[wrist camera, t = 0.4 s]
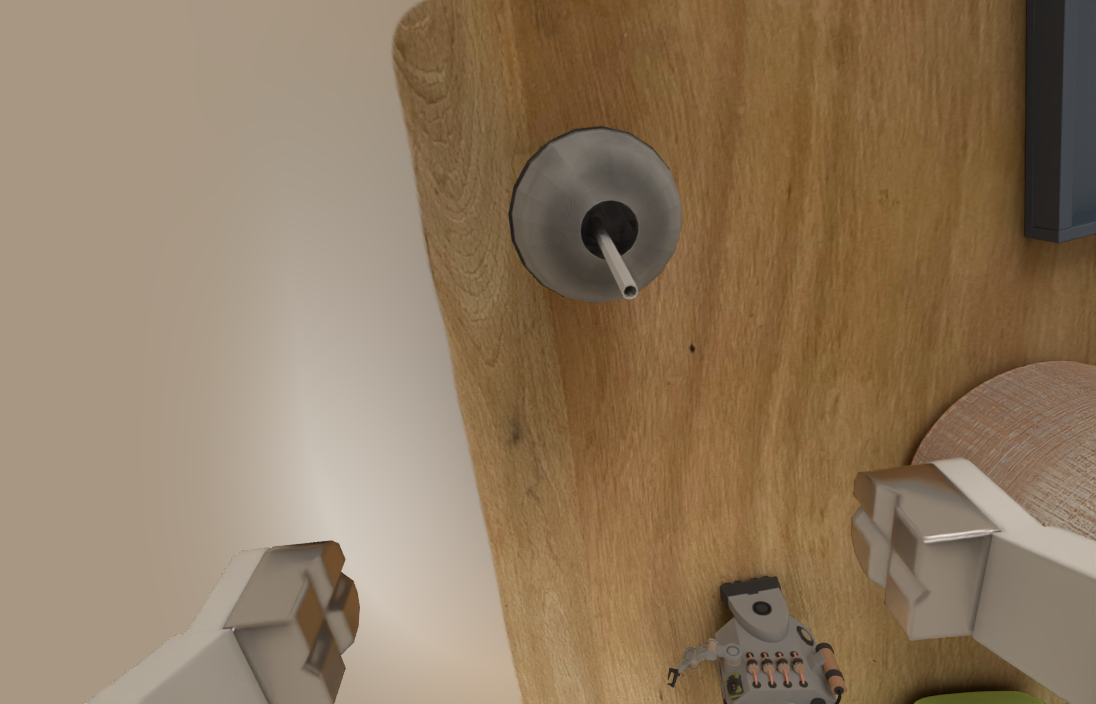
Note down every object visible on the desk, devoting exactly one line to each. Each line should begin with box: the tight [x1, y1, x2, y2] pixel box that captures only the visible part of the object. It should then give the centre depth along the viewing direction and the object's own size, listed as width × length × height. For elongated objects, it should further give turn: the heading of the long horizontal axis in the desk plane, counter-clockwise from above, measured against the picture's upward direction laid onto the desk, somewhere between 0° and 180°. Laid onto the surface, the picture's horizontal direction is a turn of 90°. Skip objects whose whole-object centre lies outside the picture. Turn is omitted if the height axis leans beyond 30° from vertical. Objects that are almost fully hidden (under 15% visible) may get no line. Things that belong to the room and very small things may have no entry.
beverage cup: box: [509, 126, 682, 303], centre depth 27 cm, size 7×7×20 cm
